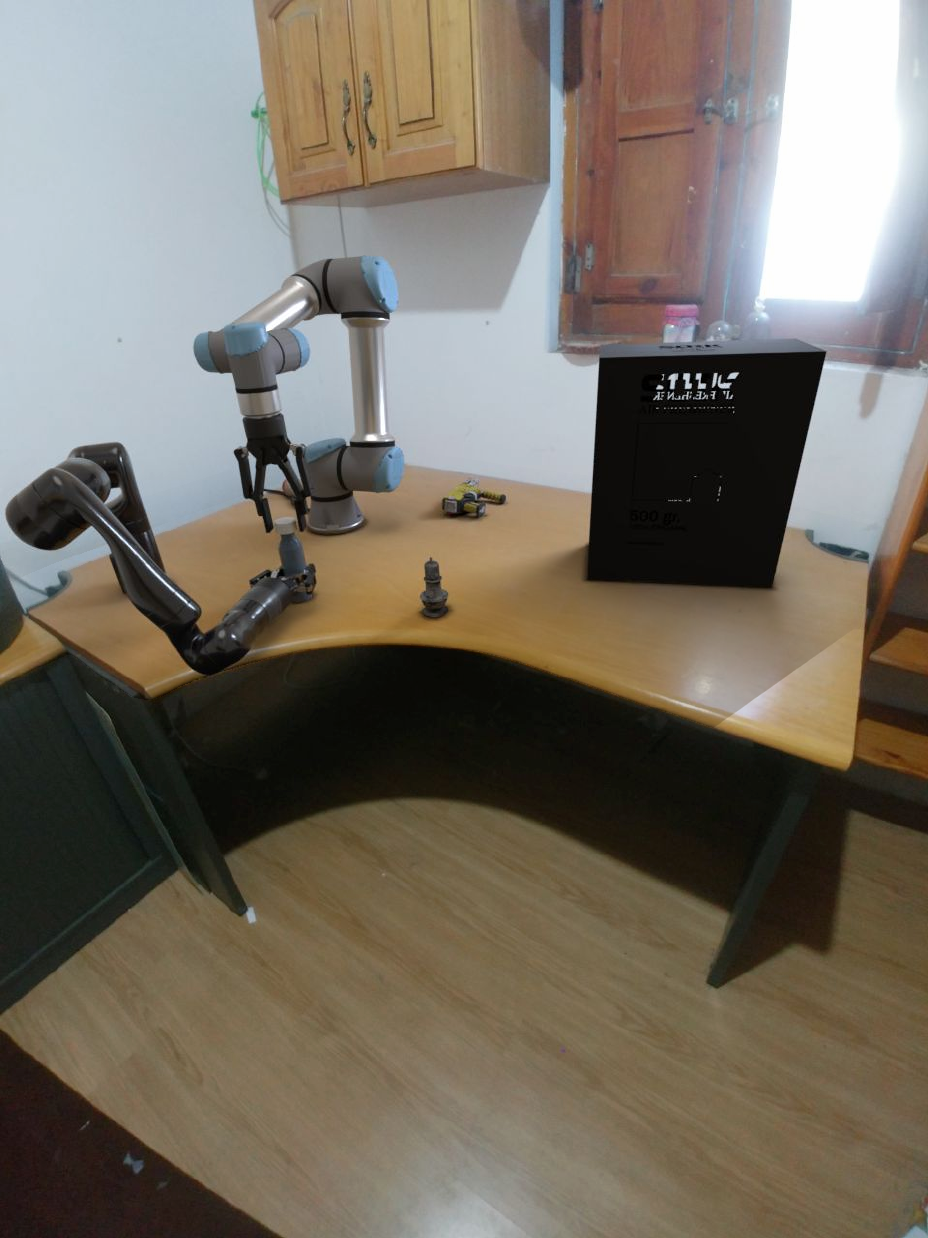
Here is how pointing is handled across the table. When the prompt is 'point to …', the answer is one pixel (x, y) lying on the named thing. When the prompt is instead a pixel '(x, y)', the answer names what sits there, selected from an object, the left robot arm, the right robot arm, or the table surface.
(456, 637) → the table surface
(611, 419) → the cardboard box
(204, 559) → the table surface
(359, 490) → the right robot arm
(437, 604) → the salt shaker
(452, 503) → the toy gun
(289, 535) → the bottle
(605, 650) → the table surface
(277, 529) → the cap
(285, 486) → the eyeball
